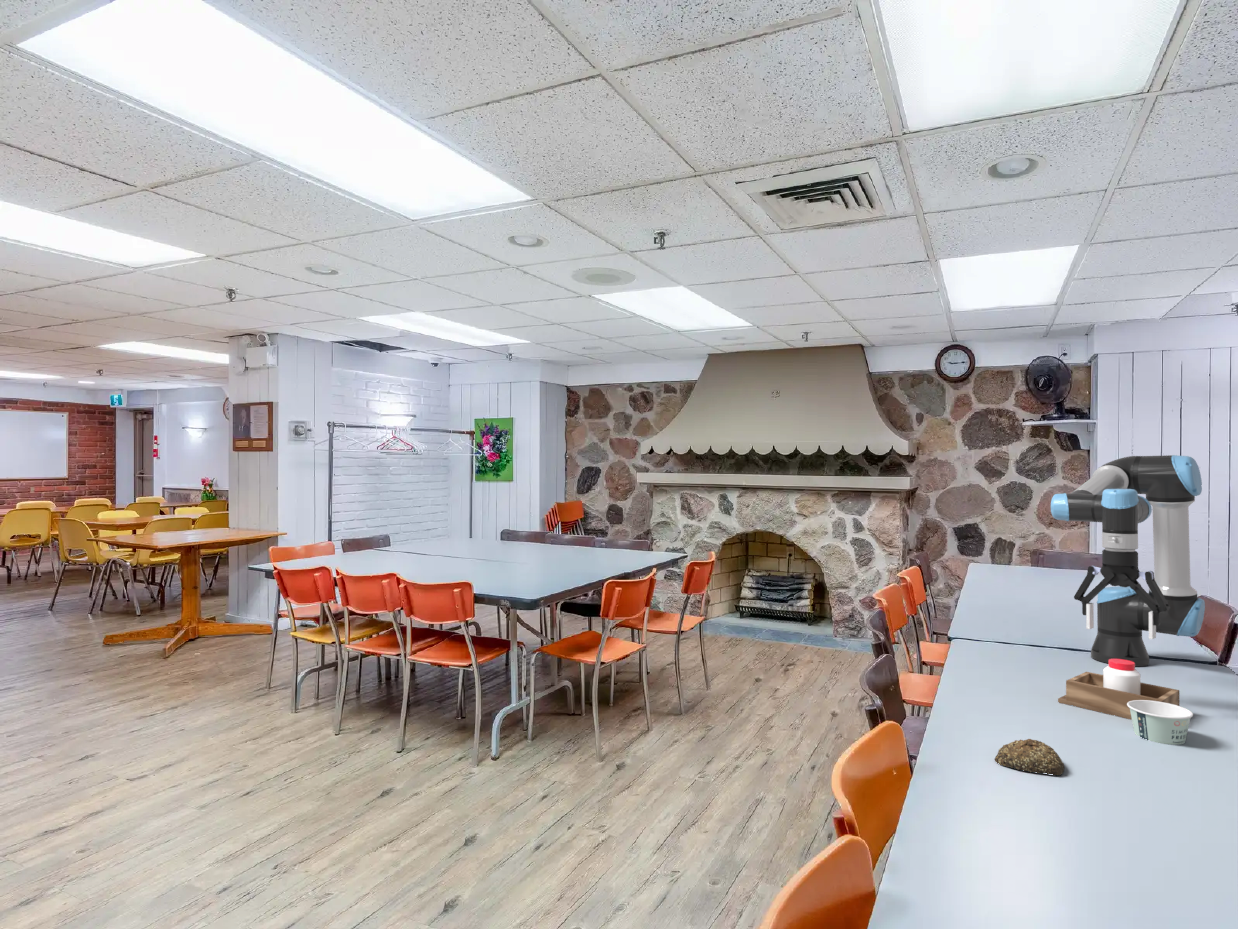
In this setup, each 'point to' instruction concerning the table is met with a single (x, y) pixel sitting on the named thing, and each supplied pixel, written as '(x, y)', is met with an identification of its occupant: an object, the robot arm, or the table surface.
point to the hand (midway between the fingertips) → (1120, 633)
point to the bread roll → (1030, 757)
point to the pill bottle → (1122, 676)
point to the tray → (1111, 695)
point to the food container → (1160, 721)
